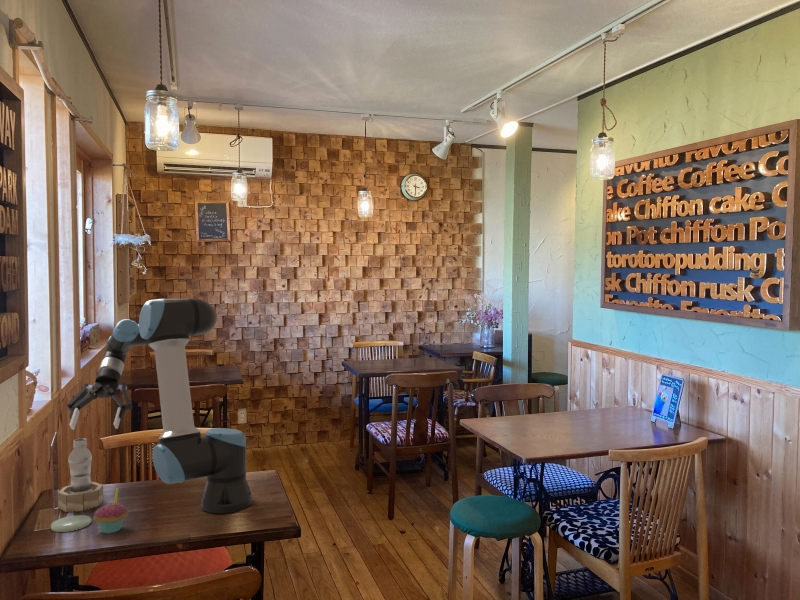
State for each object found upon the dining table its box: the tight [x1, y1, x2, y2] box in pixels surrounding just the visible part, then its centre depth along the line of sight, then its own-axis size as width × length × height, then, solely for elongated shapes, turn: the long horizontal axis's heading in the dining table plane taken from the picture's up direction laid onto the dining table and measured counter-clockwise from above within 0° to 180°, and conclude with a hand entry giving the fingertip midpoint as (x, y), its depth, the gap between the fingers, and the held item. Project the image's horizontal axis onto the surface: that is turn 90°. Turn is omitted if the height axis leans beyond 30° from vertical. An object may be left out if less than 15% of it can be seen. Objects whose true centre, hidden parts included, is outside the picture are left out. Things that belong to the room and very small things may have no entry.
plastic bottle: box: [67, 438, 93, 494], centre depth 189 cm, size 6×7×20 cm
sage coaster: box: [50, 514, 92, 533], centre depth 174 cm, size 10×10×1 cm
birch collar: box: [57, 481, 104, 513], centre depth 189 cm, size 11×11×5 cm
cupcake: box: [92, 485, 129, 534], centre depth 170 cm, size 9×8×12 cm
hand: (93, 427), depth 200 cm, fingers open, 13 cm apart
